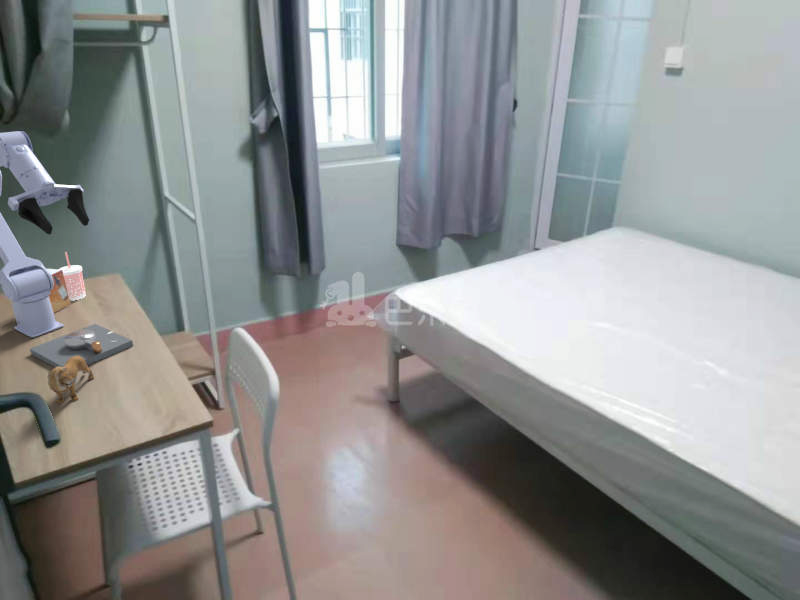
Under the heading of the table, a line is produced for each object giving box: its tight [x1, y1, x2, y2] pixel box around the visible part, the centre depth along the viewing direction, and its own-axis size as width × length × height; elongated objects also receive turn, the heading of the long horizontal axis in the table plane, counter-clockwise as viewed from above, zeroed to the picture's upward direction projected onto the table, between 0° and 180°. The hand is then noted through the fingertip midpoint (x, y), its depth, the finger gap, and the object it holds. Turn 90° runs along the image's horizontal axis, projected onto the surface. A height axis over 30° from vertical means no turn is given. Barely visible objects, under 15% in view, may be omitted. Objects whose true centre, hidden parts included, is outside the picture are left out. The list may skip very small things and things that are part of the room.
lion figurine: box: [47, 356, 95, 404], centre depth 118 cm, size 15×5×9 cm, turn 13°
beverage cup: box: [59, 251, 87, 302], centre depth 162 cm, size 6×6×14 cm
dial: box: [64, 329, 102, 353], centre depth 134 cm, size 11×6×2 cm, turn 56°
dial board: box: [29, 323, 134, 368], centre depth 136 cm, size 16×16×2 cm
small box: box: [46, 268, 71, 314], centre depth 156 cm, size 8×6×10 cm
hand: (69, 227), depth 119 cm, fingers open, 7 cm apart
